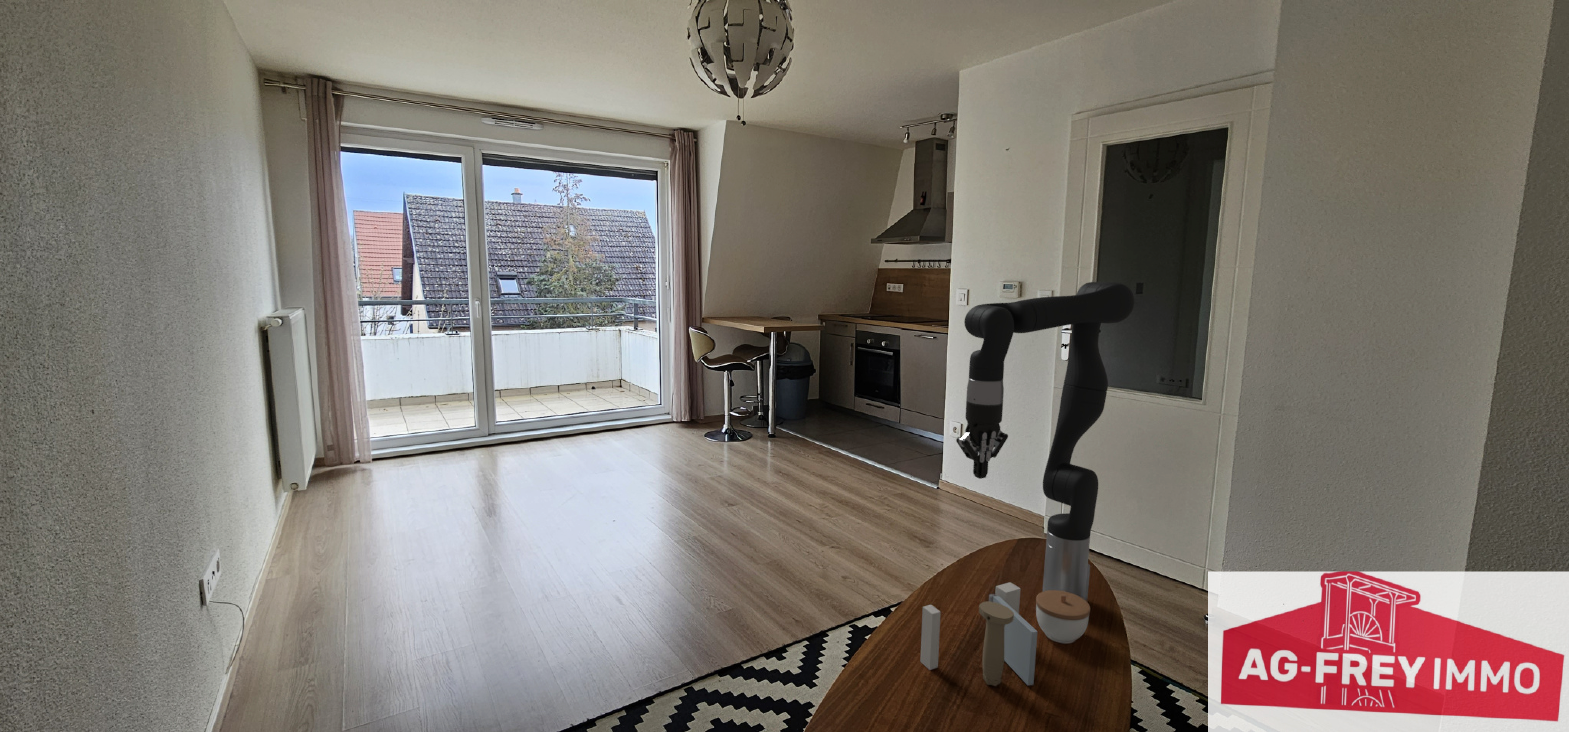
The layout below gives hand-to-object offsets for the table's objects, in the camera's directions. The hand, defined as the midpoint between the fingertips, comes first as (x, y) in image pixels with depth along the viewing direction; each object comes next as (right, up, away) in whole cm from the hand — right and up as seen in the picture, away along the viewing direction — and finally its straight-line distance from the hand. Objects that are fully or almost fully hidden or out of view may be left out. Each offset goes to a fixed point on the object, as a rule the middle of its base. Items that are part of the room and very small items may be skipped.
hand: (980, 477), depth 147 cm
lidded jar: (+17, -34, -1) cm, 38 cm away
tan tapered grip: (-3, -37, -17) cm, 41 cm away
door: (+2, -35, -11) cm, 37 cm away
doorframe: (-4, -35, -7) cm, 36 cm away
